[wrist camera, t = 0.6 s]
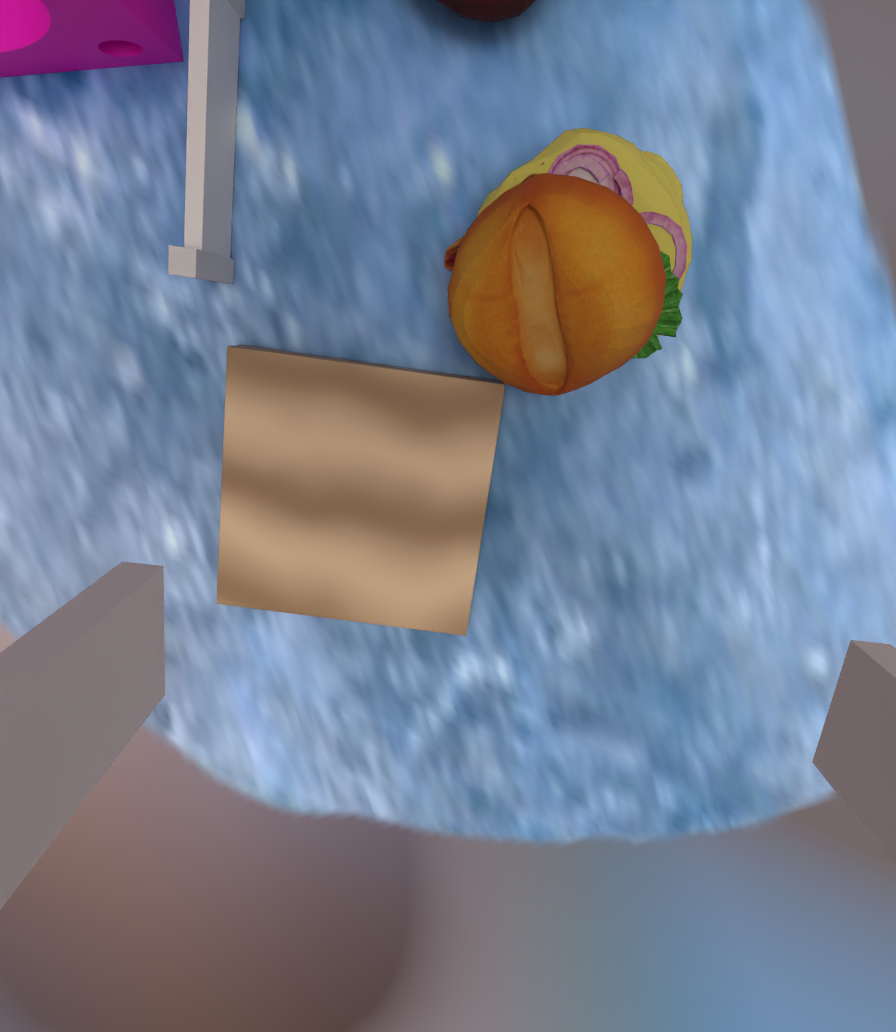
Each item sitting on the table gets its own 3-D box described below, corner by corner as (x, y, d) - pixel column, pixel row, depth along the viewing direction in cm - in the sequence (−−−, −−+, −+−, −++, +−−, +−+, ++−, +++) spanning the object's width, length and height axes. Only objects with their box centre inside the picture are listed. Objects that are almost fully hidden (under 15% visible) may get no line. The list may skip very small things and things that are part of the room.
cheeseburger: (739, 252, 32) (759, 318, 25) (566, 384, 38) (538, 471, 31) (605, 74, 30) (580, 84, 22) (443, 244, 36) (378, 300, 28)
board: (239, 344, 36) (227, 346, 34) (502, 381, 36) (505, 384, 34) (228, 589, 40) (216, 603, 38) (465, 620, 40) (466, 635, 38)
